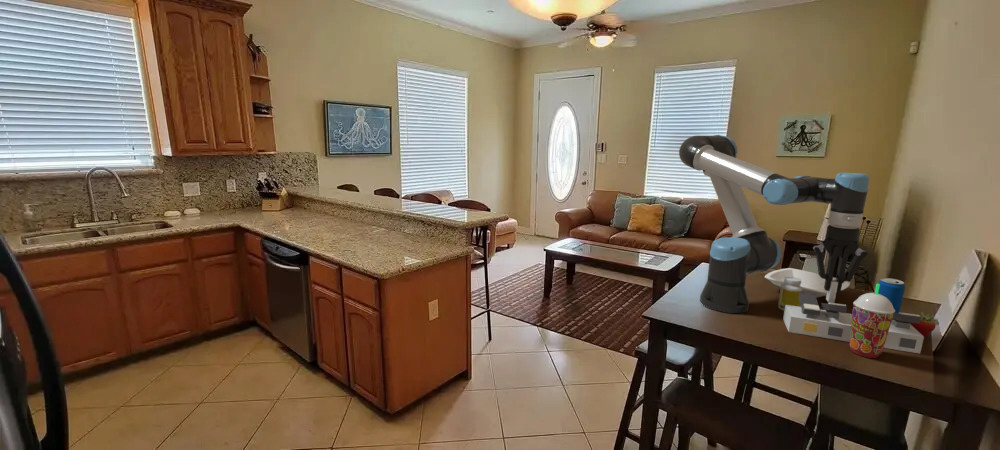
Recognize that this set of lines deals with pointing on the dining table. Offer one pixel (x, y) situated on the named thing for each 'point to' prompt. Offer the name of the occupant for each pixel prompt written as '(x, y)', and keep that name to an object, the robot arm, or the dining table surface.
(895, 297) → the beverage can
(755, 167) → the robot arm
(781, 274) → the bowl
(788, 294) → the pill bottle
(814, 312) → the rocker
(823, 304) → the rocker
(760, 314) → the dining table surface
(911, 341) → the switch unit
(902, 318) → the rocker
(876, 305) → the smoothie
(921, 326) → the fruit
